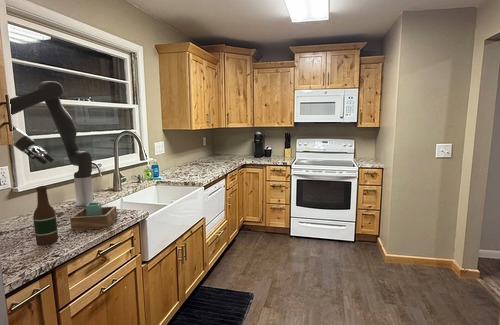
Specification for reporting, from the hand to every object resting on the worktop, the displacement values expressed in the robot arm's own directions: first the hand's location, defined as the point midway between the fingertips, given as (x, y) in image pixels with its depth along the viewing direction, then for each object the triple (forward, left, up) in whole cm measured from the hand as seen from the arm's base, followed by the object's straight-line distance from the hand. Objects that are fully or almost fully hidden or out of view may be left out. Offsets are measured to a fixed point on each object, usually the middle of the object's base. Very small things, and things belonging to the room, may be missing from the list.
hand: (49, 162), depth 147 cm
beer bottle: (+31, +11, -31) cm, 45 cm away
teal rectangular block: (+10, +22, -30) cm, 38 cm away
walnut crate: (+10, +23, -31) cm, 39 cm away
